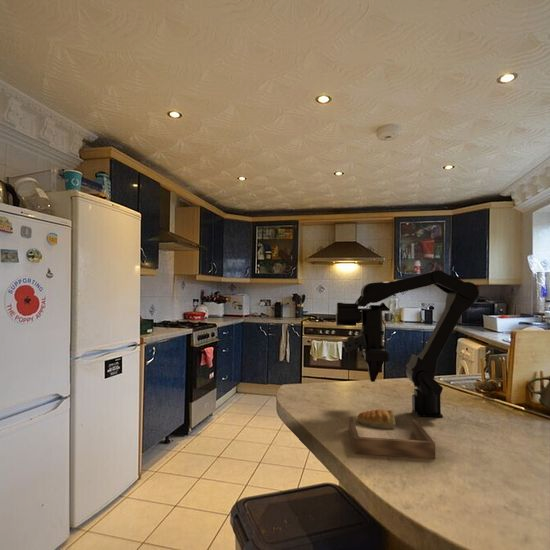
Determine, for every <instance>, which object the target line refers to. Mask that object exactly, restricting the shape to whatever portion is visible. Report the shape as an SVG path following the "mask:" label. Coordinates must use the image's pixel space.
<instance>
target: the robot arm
mask: <svg viewBox="0 0 550 550" xmlns="http://www.w3.org/2000/svg"><path fill="white" fill-rule="evenodd" d="M432 285H433V286H436V287H437V288H438V289H439V290H441V291H442V292H444V293H445V294H446V298H445V307H444V310H443V311H442V314H441V315H440V318H439V320H437V323H436V324H435V326H434V329H433V330H432V333H431V334H430V336H429V337H428V339H427V342H426V344H425V345H424V347H423V349H422V351H421V352H420V353H419V354H417V355H416V354H414V353H411V356H410V358H409V361H408V363H406V364H405V367H406V370H405V373H406V377H407V378H408V380H409V381H411V383H413V386H414V387H415V388H414V389H413V394H412V395H411V403H412V405H411V407H412V408H411V409H412V410H413V411H414V412H415V414H416V415H417V416H419V417H428V418H429V417H433V418H443V417H444V415H443V414H442V412H441V411H442V410H441V407H442V405H441V396H442V393H443V389H444V388H443V386H441V384H440V383H439V382H438V381H437V380H436V379H435V376H436V373H437V367H438V361H439V358H440V356H441V354H442V352H443V350H444V349H445V346H446V344H447V343H448V341H449V339H450V337H451V336H452V333H453V332H454V330H455V328H456V326H457V324H458V322H459V321H460V318H461V316H462V315H463V314H464V313H466V312H467V310H469V309H470V308H471V307H472V306H473V305H474V303H475V302H476V301H477V299H478V298H479V295H480V290H479V287H478V286H477V285H476V284H475V283H474V282H470V281H464V280H462V279H460V278H457V277H455V276H453V275H450V274H449V273H447V272H444V270H441V269H432V270H431V271H427V272H425V273H422V274H417V275H413V276H409V277H406V278H402V279H401V278H400V279H397V280H393V281H380V282H379V281H378V282H370V283H367V284H364V285H363V286H362V288H361V289H360V296H359V297H358V298H357V300H355V302H354V303H351V302H350V303H349V302H348V303H347V302H345V303H344V302H337V303H336V313H335V325H336V327H356V326H357V324H360V323H361V329H359V334H357V335H354V336H353V335H351V336H347V337H346V338H344V339H342V340H341V342H342V345H343V348H344V350H345V352H346V353H350V352H352V351H354V350H357V351H358V353H361V352H363V354H360V357H361V358H362V359H363V361H365V363H366V367H367V372H368V378H369V381H370V382H372V383H375V382H376V379H377V378H378V375H379V374H380V371H381V368H382V366H383V364H384V363H386V362H390V361H391V359H390V356H391V355H390V353H389V352H388V351H387V350H386V349H385V345H384V344H383V335H385V330H383V312H389V311H390V308H389V307H388V306H387V305H386V304H385V302H381V301H383V300H386V299H388V298H391V297H392V296H394V295H396V294H400V293H403V292H404V293H405V292H407V291H412V290H416V289H420V288H424V287H428V286H432ZM379 302H381V303H380V304H377V303H379ZM368 305H369V306H368ZM366 306H368V308H359V307H366Z"/></svg>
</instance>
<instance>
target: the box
mask: <svg viewBox="0 0 550 550" xmlns="http://www.w3.org/2000/svg"><path fill="white" fill-rule="evenodd" d="M354 420H355V419H354V417H353V416H348V432H349V436H350V442H351V446H352V450H353V452H354V454H358V455H359V454H360V455H373V456H374V455H375V456H378V455H379V456H390V457H391V456H393V457H407V458H410V457H411V458H422V459H423V458H424V459H436V443H435V441H434V440H433V439H432V437H431V436H430V434H428V432H427V431H426V430H425V428H424V427H423V426H422V425H421V424H420V422H419V421H418V420H417V419H412V420H411V423H412V424H411V426H412V427H411V428H412V430H411V432H412V435H413V436H414V437H415V439H404V438H403V439H401V438H388V437H387V438H386V437H385V438H382V437H370V436H369V437H367V436H359V434H358V430H357V426H356V424H355V421H354Z"/></svg>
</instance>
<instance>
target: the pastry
mask: <svg viewBox="0 0 550 550" xmlns="http://www.w3.org/2000/svg"><path fill="white" fill-rule="evenodd" d="M356 419H357V421H358V423H360V424H362V425H364V426H370V427H372V428H373V427H374V428H380V429H381V428H382V429H395V428H396V419H395V413H394V410H392V409H389V410H385V409H381V408H377V409H372V410H366V411H363V412H360V413H359V414H358V415H357V417H356Z"/></svg>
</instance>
